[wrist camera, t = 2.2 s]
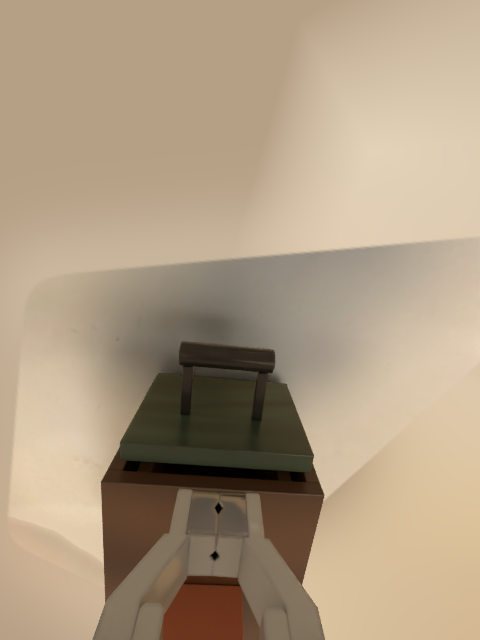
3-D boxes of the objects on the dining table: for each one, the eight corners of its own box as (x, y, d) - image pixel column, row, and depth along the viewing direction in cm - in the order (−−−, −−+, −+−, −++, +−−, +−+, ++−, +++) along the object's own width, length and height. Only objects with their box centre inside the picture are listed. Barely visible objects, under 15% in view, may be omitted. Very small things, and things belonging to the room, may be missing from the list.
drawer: (159, 315, 20) (118, 359, 13) (296, 329, 21) (332, 378, 14) (154, 495, 25) (121, 603, 18) (265, 501, 26) (279, 608, 18)
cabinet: (153, 385, 23) (100, 482, 14) (288, 396, 24) (324, 495, 14) (149, 508, 27) (106, 650, 18) (266, 515, 27) (284, 654, 18)
